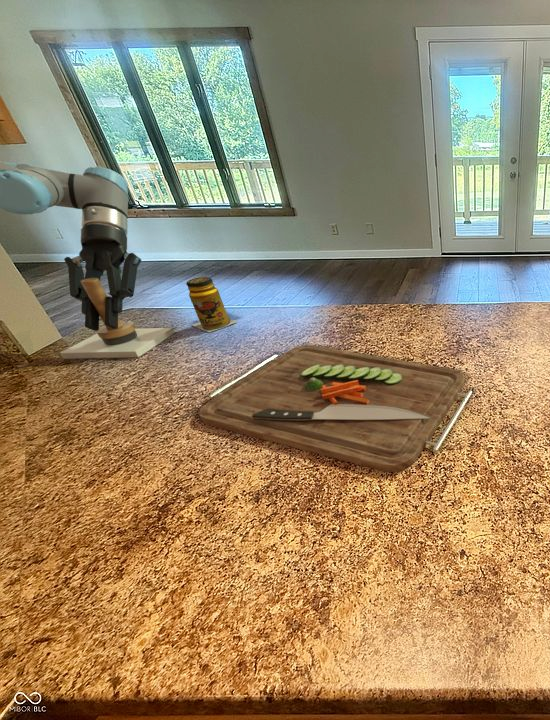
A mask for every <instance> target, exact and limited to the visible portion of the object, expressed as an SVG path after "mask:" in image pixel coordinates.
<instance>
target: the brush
mask: <svg viewBox="0 0 550 720" xmlns="http://www.w3.org/2000/svg"><path fill="white" fill-rule="evenodd" d="M81 283H82V285H83V287H84V289H85V291H86V292H87V294H88V296H89V298H90V300H91V301H92V303H93V305H94V307H95V309H96V310H97V312H98V314H99V319H101V321H102V324H103V325H102V326H99V331H95V332H96V334H98V336H99V337H100V338H101V339H102V340H103V342H104V344H107V345H114V344H120V343H124V342H128V341H130V340H132V339H134V338H136V337H137V332H136V331H135V328H136V326H135V325H134V322H132V321H130V320H123V321H121V319H120V317H119V316H118V329H113V328H111V327H109V326H107V325H105V299H106V297H108V293H107V292H106V290H105V289H104V286H103V285H102V283H101V280H100V281H99V279H98V278H88V279H84V280H81Z"/></svg>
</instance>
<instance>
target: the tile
mask: <svg viewBox="0 0 550 720" xmlns="http://www.w3.org/2000/svg"><path fill="white" fill-rule="evenodd" d="M135 331H136V332H137V337H136V338H134V339H132V340H130V341H128V342H124V343H120V344H114V345H107V344H104V342H103V340H102V339H101V338H100V337H99V336H98V334H97V333H95V334H93V335H91V336H89V337H87V338H85V339H84V340H82V341H79V342H78V343H76V344H74V345H71V346H70V347H68V348H66V349H65V350H64V349H63V351H60V352H59V355H60V356H61V357H62V359H63V360H66V359H67V360H69V359H70V360H71V359H116V358H117V359H119V358H120V359H121V358H140V357H141V356H143V355H144V354H146V353H147V352H148V351H150V350H152V349H153V348H155V347H156V346H158V345H159V344H161V343H163V342H164V341H165V340H167V339H169V338H170V337H171V336H173V335H174V334H175V331H174V328H173V327H140V328H136V327H135Z"/></svg>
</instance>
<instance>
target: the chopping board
mask: <svg viewBox="0 0 550 720" xmlns="http://www.w3.org/2000/svg"><path fill="white" fill-rule="evenodd" d="M465 381H466V380H465V376H464V374H463V373H462V372H461V371H459V370H456V369H452V368H447V367H441V366H436V365H430V364H425V363H424V364H423V363H419V362H411V361H407V360H400V359H396V358H395V359H394V358H390V357H389V358H388V357H383V356H377V355H371V354H365V353H359V352H353V351H349V350H348V351H347V350H343V349H337V348H331V347H324V346H318V345H311V344H306V345H300V346H296V347H293V348H292V349H290V350H288V351H287V352H285V353H283V354H282V355H280V356H279V355H278V354H274V355H272V356H271V357H269V358H267V359H266V360H264V361H263V362H261V363H260V364H258V365H256V366H255V367H253V368H251V369H250V370H248V371H246V372H245V373H243V374H241V375H240V376H239V377H237V378H235V379H234V380H232V381H230V382H228V383H227V384H226V385H224V386H222V387H221V388H219V389H217V390H216V391H215V392H213V393H211V394H210V395H209V394H208V399H210V400H209V401H208V402H206V403H205V404H204V405H203V406H202V407H201V408H200V410H199V411H198V416H199V418H200V420H201V422H202V423H203V424H205V425H208V426H212V427H216V428H219V429H223V430H226V431H230V432H234V433H238V434H241V435H245V436H248V437H249V436H250V437H253V438H256V439H261V440H264V441H268V442H271V443H276V444H280V445H283V446H287V447H290V448H294V449H298V450H301V451H305V452H309V453H313V454H317V453H318V454H317V455H321V456H325V457H328V458H333V459H336V460H340V461H343V462H346V463H347V462H348V463H350V464H355V465H359V466H362V467H366V468H370V469H374V470H378V471H382V472H386V473H387V472H388V473H395V472H401V471H404V470H407V469H408V468H410V467H412V465H413V464H414V463H415V462H416V461H417V460H418V458H419V457H420V456H421V454H422V453H423V451H424V449H425V448H426V446H432V452H433V453H435V454H437V453H438V452H439V451H440V448H441V446H442V445H443V443H444V441H445V440H446V439H447V436H448V435H449V433H450V432H451V430H452V428H453V426H454V425H455V423H456V421H457V420H458V419H459V416H460V415H461V413H462V411H463V409H464V408H465V407H466V405H467V403H468V401H469V400H470V398H471V396H472V394H473V391H472V390H467V393H462V390H463V389H464V387H465V384H464V383H465ZM462 388H463V389H462ZM458 397H463V399H462V401H461V402H460V404H459V405H458V407H457V408H456V410H455V411H454V413H453V416H452V417H451V419H450V420H449V422H448V423H447V425H446V427H445V428H444V430H443V432H442V433H441V435H440V436H439V438H438V440H437V441H436V442H435V441H430V440H431V438H432V437H433V435H434V434H435V432H436V430H437V429H438V427H439V426H440V424H441V423H442V421H443V420H444V418H445V416H446V415H447V413H448V412H449V411H450V408H451V407H452V406H453V404H454V402H455V401H456V400H457V398H458ZM409 466H410V467H409ZM407 467H408V468H407Z"/></svg>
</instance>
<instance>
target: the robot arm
mask: <svg viewBox="0 0 550 720" xmlns="http://www.w3.org/2000/svg"><path fill="white" fill-rule="evenodd" d="M129 200H130V199H129V189H128V183H127V181H126V179H125V178H124V177H123V176H122V175H121V174H119V173H118V172H117V171H114V170H112V169H110V168H106V167H102V166H94V167H93V166H89V167H87V168H86V169H84V172H83V174H79V173H69V172H65V171H60V170H54V169H48V168H43V167H37V166H34V165H33V166H32V165H29V164H25V163H15V162H14V163H13V162H8V161H5V162H4V161H1V160H0V209H1V210H3V211H5V212H7V213H11V214H13V215H21V216H22V215H23V216H25V215H26V216H27V215H34V214H40V213H43V212H44V211H46V210H48V209H50V208H52V207H62V208H70V209H75V210H82V211H81V212H82V213H81V229H80V244H81V250H80V251H79V253H78V255H77V256H75V257H72V258H71V257H70V256H66V257H64V260H63V261H64V263H65V264H66V265H67V270H68V283H69V284H68V285H69V296H71V297H72V298H74V299H76V300H77V301H79V302H81V309H80V312H81V314H82V315H84V316H85V317H84V327H85V328H87V329H89V330H91V331H94V332H96V331H99V328H100V316H99V314H98V312H97V310H96V309H95V307H94V305H93V303H92V301H91V300H90V298H89V296H88V294H87V292H86V291H85V289H84V287H83V285H82V283H81V280H84V279H88V278H98V279H99V281H100V282H101V278H102V276H104V272H105V271H106V277H107V283H108V291H109V292H107V296H108V295H109V296H108V297H106V299H105V325H107V326H109V327H111V328H113V329H118V317H119V314H121V313H123V307H124V306H123V303H124V302H123V301H124V300H125V299H126V298H133V297H134V294H135V288H136V280H137V273H138V267H139V266H140V264H141V263H142V259H141V258H140V257H139V256H138V255H137V254H136V253H134V252H128V251H127V250H128V216H129V215H128V214H129V213H128V212H129ZM84 263H85V265H84ZM122 264H123V267H122V268H121V265H122ZM83 268H85V273H84V269H83ZM105 325H104V326H105Z"/></svg>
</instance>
